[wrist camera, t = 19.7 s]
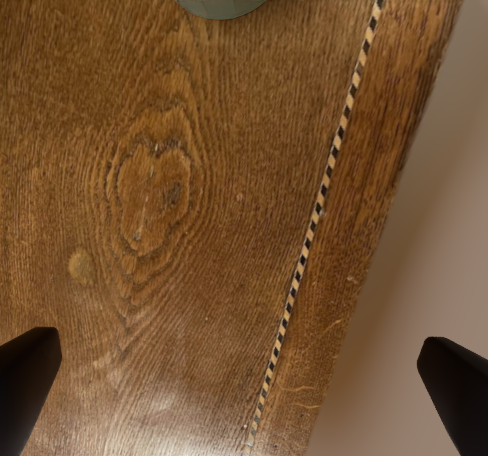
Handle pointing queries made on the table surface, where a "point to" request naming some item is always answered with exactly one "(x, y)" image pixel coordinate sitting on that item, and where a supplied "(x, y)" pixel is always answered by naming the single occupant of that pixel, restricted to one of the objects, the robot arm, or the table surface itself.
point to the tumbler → (219, 8)
